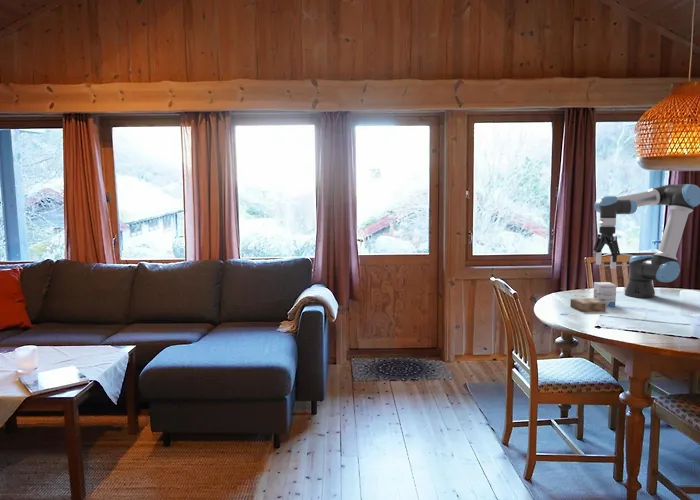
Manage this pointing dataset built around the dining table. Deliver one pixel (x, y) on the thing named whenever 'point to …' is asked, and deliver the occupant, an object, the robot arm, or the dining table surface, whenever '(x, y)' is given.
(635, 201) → the robot arm
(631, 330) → the dining table surface
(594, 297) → the ink box
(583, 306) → the walnut frame
